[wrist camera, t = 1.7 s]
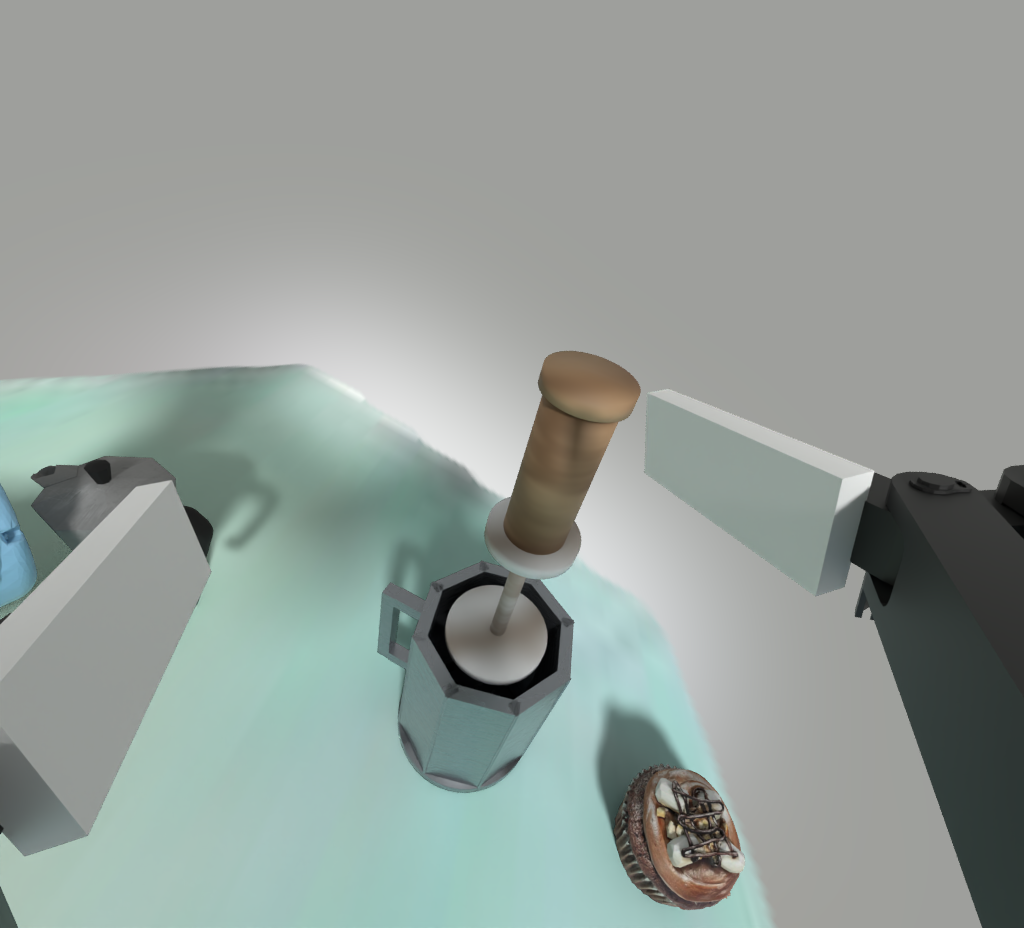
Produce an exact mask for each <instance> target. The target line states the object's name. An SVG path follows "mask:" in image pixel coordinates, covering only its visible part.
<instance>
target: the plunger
mask: <svg viewBox="0 0 1024 928" xmlns="http://www.w3.org/2000/svg"><path fill="white" fill-rule="evenodd" d="M538 386H539V389H540V391H541V393H542V398H541V402H540V405H539V408H538V411H537V414H536V418H535V421H534V424H533V427H532V431H531V434H530V437H529V440H528V444H527V447H526V450H525V453H524V457H523V460H522V463H521V467H520V470H519V473H518V476H517V480H516V483H515V486H514V489H513V493H512V496H511V497H509V498H506V499H504V500H502V501H500V502H498V503H497V504H496V505H495V506H494V507H493V508H492V510H491V511H490V513H489V516H488V519H487V523H486V527H485V532H484V537H485V543H486V546H487V548H488V550H489V552H490V553H491V555H492V556H493V558H494V559H495V560H496V561H497V562H498V563H499V564H500V565H501V566H503V567H504V568H506V569H507V570H509V571H510V572H509V575H508V578H507V580H506V583H505V586H504V587H503V586H497V585H486V586H480V587H476V588H473V589H471V590H469V591H467V592H465V593H464V594H463V595H461V596H460V597H459V598H458V599H457V600H456V601H455V603H454V604H453V605H452V607H451V609H450V611H449V614H448V617H447V621H446V625H445V642H446V646H447V649H448V652H449V654H450V656H451V658H452V659H453V661H454V662H455V664H456V665H457V666H458V667H459V668H460V669H461V670H462V671H463V672H464V673H465V674H467V675H468V676H470V677H471V678H473V679H475V680H477V681H480V682H483V683H485V684H490V685H509V684H513V683H516V682H519V681H521V680H523V679H525V678H526V677H528V676H529V675H530V674H531V673H532V672H533V671H534V670H535V669H536V668H537V666H538V665H539V663H540V661H541V659H542V657H543V655H544V653H545V650H546V646H547V629H546V624H545V622H544V619H543V617H542V615H541V613H540V612H539V610H538V609H537V607H536V606H535V605H534V604H533V603H532V602H531V601H530V600H529V599H528V598H527V597H525V596H524V595H522V594H521V593H520V592H521V589H522V587H523V584H524V582H525V579H526V578H530V579H550V578H554V577H557V576H559V575H561V574H563V573H565V572H566V571H567V570H568V569H569V568H570V567H571V566H572V564H573V562H574V560H575V558H576V556H577V554H578V552H579V550H580V546H581V536H580V531H579V529H578V526H577V524H576V523H575V521H574V520H575V518H576V516H577V513H578V511H579V509H580V507H581V505H582V502H583V500H584V498H585V496H586V493H587V491H588V489H589V487H590V484H591V482H592V480H593V477H594V475H595V473H596V471H597V469H598V466H599V464H600V462H601V460H602V457H603V455H604V453H605V451H606V448H607V446H608V444H609V442H610V439H611V437H612V435H613V433H614V430H615V428H616V426H617V424H618V422H619V421H622V420H624V419H626V418H628V417H629V416H630V414H631V413H632V411H633V409H634V407H635V404H636V402H637V400H638V398H639V396H640V386H639V384H638V382H637V381H636V379H635V378H634V377H633V376H632V375H631V374H630V373H629V372H627V371H626V370H625V369H623V368H622V367H620V366H619V365H617V364H615V363H613V362H611V361H609V360H607V359H604V358H602V357H599V356H596V355H592V354H588V353H583V352H577V351H560V352H556V353H552V354H551V355H549V356H548V357H546V359H545V360H544V363H543V367H542V370H541V373H540V377H539V380H538Z"/></svg>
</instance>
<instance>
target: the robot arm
mask: <svg viewBox="0 0 1024 928" xmlns="http://www.w3.org/2000/svg"><path fill="white" fill-rule="evenodd" d="M646 413H647V415H646V442H645V471H644V472H645V473H646V474H647V475H648V476H650V477H651V478H652V479H654V480H655V481H657V482H658V483H659V484H661V485H662V486H663V487H665V488H666V489H668V490H669V491H670V492H672V493H673V494H674V495H676V496H677V497H679V498H680V499H681V500H683V501H684V502H686V503H687V504H688V505H690V506H691V507H693V508H694V509H695V510H697V511H698V512H699V513H701V514H702V515H704V516H705V517H706V518H708V519H709V520H710V521H712V522H713V523H715V524H716V525H717V526H719V527H720V528H722V529H723V530H725V531H726V532H727V533H728V534H730V535H731V536H733V537H734V538H735V539H737V540H738V541H740V542H741V543H742V544H744V545H745V546H747V547H748V548H749V549H751V550H752V551H753V552H755V553H756V554H758V555H759V556H760V557H762V558H763V559H765V560H766V561H767V562H769V563H770V564H772V565H773V566H774V567H776V568H777V569H778V570H780V571H781V572H783V573H784V574H785V575H787V576H788V577H790V578H791V579H792V580H794V581H795V582H796V583H798V584H799V585H801V586H802V587H803V588H805V589H806V590H808V591H809V592H810V593H812V594H813V595H815V596H819V595H822V594H824V593H827V592H831V591H834V590H837V589H840V588H843V587H845V583H846V579H847V575H848V571H849V568H850V564H851V562H852V563H853V564H855V565H857V566H858V567H860V568H862V569H864V570H865V571H866V573H865V576H864V580H863V584H862V588H861V591H860V594H859V598H858V602H857V605H856V609H855V617H860V618H861V617H862V613H863V610H865V609H867V608H868V607H870V610H871V613H872V614H871V618H870V619H871V620H874V621H875V624H876V627H877V630H878V633H879V635H880V638H881V641H882V644H883V647H884V650H885V653H886V655H887V658H888V661H889V664H890V667H891V670H892V672H893V675H894V678H895V681H896V684H897V687H898V690H899V692H900V695H901V698H902V701H903V703H904V707H905V709H906V712H907V715H908V718H909V721H910V723H911V726H912V729H913V732H914V735H915V738H916V740H917V744H918V746H919V749H920V752H921V755H922V758H923V760H924V763H925V766H926V769H927V772H928V775H929V777H930V780H931V783H932V786H933V789H934V792H935V794H936V798H937V800H938V803H939V806H940V809H941V812H942V815H943V817H944V820H945V823H946V826H947V829H948V832H949V834H950V837H951V840H952V843H953V846H954V849H955V851H956V854H957V857H958V860H959V863H960V866H961V869H962V871H963V874H964V877H965V880H966V883H967V885H968V888H969V891H970V894H971V897H972V900H973V903H974V905H975V908H976V911H977V914H978V917H979V920H980V923H981V925H982V928H1024V465H1019V466H1011V467H1009V468H1006V469H1004V471H1003V474H1002V476H1001V479H1000V482H999V484H998V487H997V489H996V490H984V491H978V490H977V489H976V488H974V487H973V486H971V485H970V484H968V483H967V482H965V481H962V480H958V479H956V478H952V477H948V476H945V475H941V474H936V473H927V472H905V473H900V474H897V475H895V476H894V477H892V479H889V478H887V477H884V476H882V475H880V474H877V473H875V472H874V470H871V469H869V468H866V467H864V466H861V465H859V464H856V463H854V462H851V461H849V460H846V459H844V458H841V457H839V456H836V455H834V454H831V453H829V452H826V451H824V450H821V449H819V448H816V447H814V446H811V445H809V444H806V443H804V442H801V441H799V440H796V439H794V438H791V437H788V436H786V435H783V434H781V433H778V432H776V431H773V430H771V429H768V428H766V427H763V426H761V425H758V424H756V423H753V422H751V421H748V420H746V419H743V418H741V417H738V416H736V415H733V414H731V413H728V412H726V411H723V410H721V409H718V408H716V407H713V406H710V405H708V404H705V403H703V402H700V401H698V400H695V399H693V398H690V397H688V396H685V395H683V394H680V393H678V392H675V391H673V390H670V389H665V390H661V391H654V392H649V393H647V411H646ZM211 572H212V571H211V569H210V567H209V564H208V562H207V560H206V557H205V555H204V553H203V551H202V548H201V546H200V544H199V541H198V539H197V537H196V534H195V532H194V530H193V527H192V525H191V523H190V520H189V518H188V516H187V514H186V511H185V509H184V507H183V504H182V502H181V500H180V497H179V495H178V493H177V490H176V488H175V486H174V484H173V481H172V480H170V481H164V482H159V483H153V484H148V485H142V486H137V487H135V488H134V489H133V490H132V492H131V493H130V494H129V495H128V496H127V497H126V498H125V499H124V500H123V501H122V502H121V503H120V504H119V505H118V506H117V507H116V508H115V509H114V510H113V511H112V512H111V513H110V514H109V515H108V516H107V517H106V518H105V519H104V520H103V521H102V522H101V523H100V524H99V525H98V526H97V527H96V528H95V529H94V530H93V531H92V532H91V533H90V534H89V535H88V536H87V537H86V538H85V539H84V540H83V541H82V542H81V543H80V544H79V545H78V546H77V547H76V548H75V549H74V550H73V551H72V552H71V553H70V554H69V555H68V556H67V557H66V558H65V559H64V560H63V561H62V563H61V564H60V565H59V566H58V567H57V568H56V569H55V570H54V571H53V572H52V573H51V574H50V575H49V576H48V577H47V578H46V579H45V580H44V581H43V582H42V583H41V584H40V585H39V586H38V587H37V588H36V589H35V590H34V591H33V592H32V593H31V594H30V595H29V596H28V597H27V598H26V599H25V600H24V601H23V602H22V603H21V604H20V605H19V606H18V607H17V608H16V609H15V610H14V611H13V612H12V613H9V614H8V615H7V616H5V617H4V618H2V619H1V620H0V834H1V833H2V832H3V833H4V835H5V836H6V837H7V838H8V839H9V840H10V841H11V842H12V843H13V844H14V845H15V847H16V848H17V849H18V850H19V851H20V852H21V853H22V854H23V855H24V856H28V855H31V854H34V853H37V852H40V851H43V850H46V849H49V848H52V847H55V846H58V845H61V844H64V843H67V842H70V841H73V840H76V839H79V838H82V837H85V836H88V834H89V832H90V830H91V828H92V826H93V824H94V822H95V819H96V817H97V815H98V813H99V811H100V809H101V807H102V805H103V802H104V800H105V798H106V796H107V794H108V792H109V790H110V787H111V785H112V783H113V781H114V779H115V777H116V775H117V772H118V770H119V768H120V766H121V764H122V762H123V760H124V758H125V755H126V753H127V751H128V749H129V747H130V745H131V743H132V740H133V738H134V736H135V734H136V732H137V730H138V728H139V726H140V723H141V721H142V719H143V717H144V715H145V713H146V711H147V708H148V706H149V704H150V702H151V700H152V698H153V696H154V693H155V691H156V689H157V687H158V685H159V683H160V681H161V679H162V676H163V674H164V672H165V670H166V668H167V666H168V664H169V661H170V659H171V657H172V655H173V653H174V651H175V649H176V647H177V644H178V642H179V640H180V638H181V636H182V634H183V632H184V629H185V627H186V625H187V623H188V621H189V619H190V617H191V614H192V612H193V610H194V608H195V606H196V604H197V602H198V600H199V597H200V595H201V593H202V591H203V589H204V587H205V585H206V582H207V580H208V578H209V576H210V574H211ZM36 579H37V571H36V566H35V562H34V559H33V556H32V553H31V550H30V548H29V545H28V543H27V540H26V538H25V536H24V534H23V532H22V531H21V530H20V525H19V523H18V521H17V518H16V514H15V512H14V510H13V508H12V506H11V504H10V501H9V499H8V497H7V495H6V493H5V491H4V489H3V487H2V486H1V484H0V607H2V606H4V605H7V604H9V603H11V602H13V601H15V600H18V599H20V598H21V597H23V596H24V595H26V594H27V593H28V592H29V591H30V590H31V589H32V588H33V586H34V584H35V582H36ZM0 928H18V926H17V924H16V922H15V919H14V917H13V915H12V912H11V910H10V908H9V906H8V903H7V901H6V899H5V896H4V894H3V892H2V889H1V887H0Z"/></svg>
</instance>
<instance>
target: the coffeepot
mask: <svg viewBox="0 0 1024 928" xmlns="http://www.w3.org/2000/svg"><path fill="white" fill-rule="evenodd" d="M31 479H33V480H34V481H35V482H37V483H38V484H39V485H41V486H42V487H43V488H44V489H43V491H42V492H41V493H40V494H39V496H38V497H37V498H36V500H35V501H34V502H33V504H32V505H31V506H32V508H33V509H34V510H35V511H36V512H37V513H38V514H39V515H40V517H41V518H42V519H43V520H44V521H45V522H46V523H47V524H48V525H49V526H50V527H51V528H52V529H53V530H54V531H55V533H56V534H57V535H58V536H59V537H60V538H61V539H62V540H63V541H64V542H65V543H66V544H67V545H68V546H69V547H70V549H71V550H72V551H73V550H74V549H75V548H76V547H77V546H78V545H79V544H80V543H81V542H82V541H83V540H84V539H85V538H86V537H87V536H88V535H89V534H90V533H91V532H92V531H93V530H94V529H95V528H96V527H97V526H98V525H99V524H100V523H101V522H102V521H103V520H104V519H105V518H106V517H107V516H108V515H109V514H110V513H111V512H112V511H113V510H114V509H115V508H116V507H117V506H118V505H119V504H120V503H121V502H122V501H123V500H124V499H125V498H126V497H127V496H128V495H129V494H130V493H131V492H132V490H133V489H134V488H135V487H137V486H142V485H148V484H153V483H159V482H164V481H170V480H172V481H173V484H174V486H175V488H176V482H175V480H176V478H175V477H174V476H173V475H172V474H170V473H169V472H168V471H167V470H166V469H165V468H163V467H162V466H161V465H160V464H159V463H158V462H156V461H155V460H154V459H153V458H138V457H113V456H104V457H101V458H99V459H96V460H93V461H90V462H88V463H85V464H82V465H79V466H74V465H56V466H48V467H45V468H43V469H41V470H40V471H39V472H38V473H36V474H33V475H32V476H31ZM183 507H184V509H185V511H186V514H187V516H188V518H189V520H190V523H191V525H192V527H193V530H194V532H195V534H196V537H197V539H198V541H199V544H200V546H201V548H202V551H203V553H204V555H205V557H207V553H208V550H209V546H210V542H211V539H212V535H213V528H212V526H211V524H210V523H209V521H208V520H207V519H206V518H205V517H203V516H202V515H201V514H200V513H199V512H198V511H197V510H195V509H193V508H191V507H187V506H183Z"/></svg>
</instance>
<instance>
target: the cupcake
mask: <svg viewBox="0 0 1024 928" xmlns="http://www.w3.org/2000/svg"><path fill="white" fill-rule="evenodd" d="M615 825H616V826H615V828H614V834H615V837H616V845H617V850H618V853H619V856H620V860H621V862H622V864H623V867H624V868H625V870H626V872H627V875H628V876H629V877H630V879H631V881H632V883H634V884H635V885H636V887H637V888H638V889H640V890H641V891H642V892H643V894H646V895H648V896H649V897H650V898H651V899H653V900H654V901H656V902H658V903H661V904H666V905H670V906H674V907H680V908H681V909H684V910H695V909H703V908H705V907H711V906H713V905H714V906H715V904H717V903H718V902H719V901H720V900H722V899H724V898H726V899H727V896H729V895H730V891H731V889H732V888H733V885H734V884H735V882H736V880H737V879H738V877H739V873H740V872H741V871H743V868H744V865H745V857H744V854H743V853H742V852H741V848H740V843H739V839H738V835H737V832H736V829H735V826H734V823H733V821H732V819H731V816H730V814H729V812H728V809H727V807H726V806H725V804H724V802H723V801H722V799H721V797H720V796H719V794H718V792H717V791H716V790H715V789H714V788H713V787H712V786H711V784H710V783H709V782H708V781H707V780H706V779H705V778H703V777H702V776H701V775H699V774H698V773H695V772H693V771H691V770H685V769H677V768H676V766H674V767H673V768H671V767H670V766H669V764H667V765H666V767H664V766H663V764H659V766H657V765H654V766H653V767H651V766H649V768H648V770H645V769H643V770H642V772H641V773H638V774H637V776H636V779H635V778H633V779H632V782H631V785H629V787H628V790H627V792H626V795H625V798H624V800H623V802H622V804H621V805H620V807H619V811H618V814H617V816H616V818H615Z"/></svg>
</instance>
